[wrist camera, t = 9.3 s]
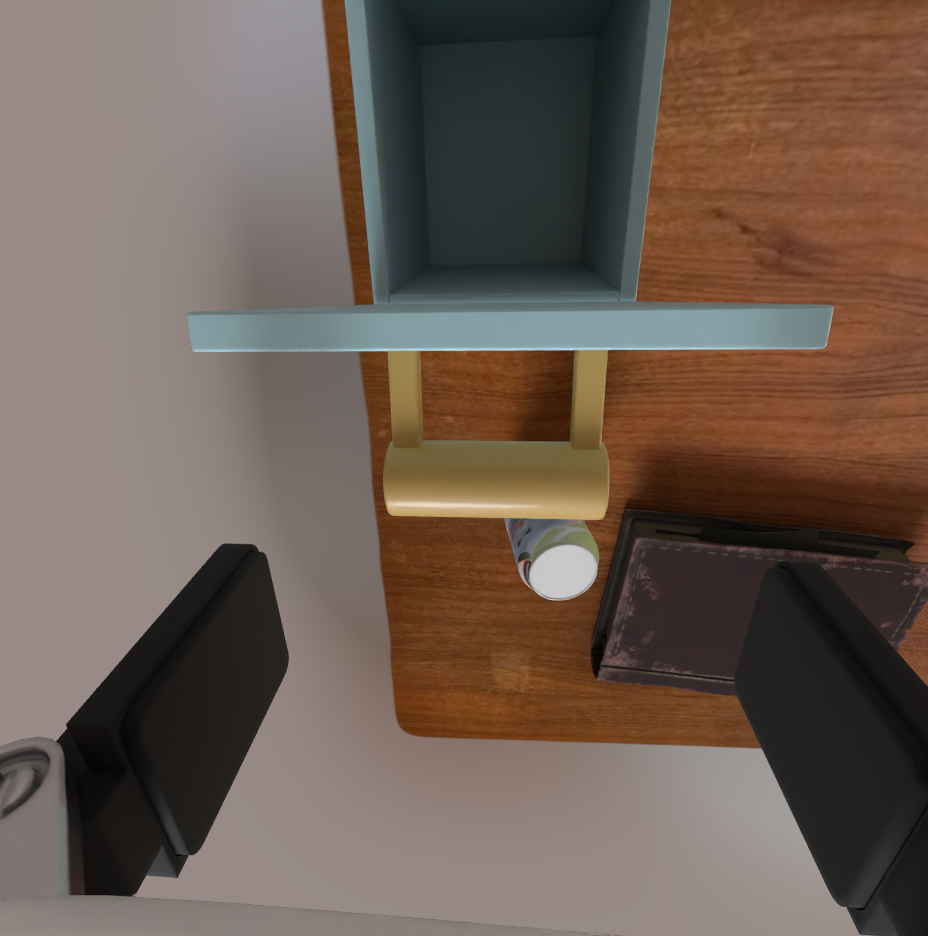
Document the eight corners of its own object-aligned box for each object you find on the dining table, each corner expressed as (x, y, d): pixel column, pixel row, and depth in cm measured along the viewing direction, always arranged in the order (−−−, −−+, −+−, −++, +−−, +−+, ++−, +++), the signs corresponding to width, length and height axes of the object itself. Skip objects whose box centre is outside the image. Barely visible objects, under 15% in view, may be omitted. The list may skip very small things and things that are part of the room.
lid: (184, 312, 11) (224, 547, 12) (836, 304, 10) (785, 562, 11) (371, 304, 25) (378, 412, 27) (638, 301, 24) (628, 413, 26)
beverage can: (494, 469, 47) (490, 547, 36) (577, 456, 45) (598, 532, 35) (507, 528, 49) (507, 616, 39) (585, 517, 48) (608, 605, 37)
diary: (828, 677, 54) (857, 719, 50) (588, 650, 55) (595, 689, 51) (910, 527, 46) (954, 562, 42) (626, 498, 47) (638, 529, 42)
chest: (408, 34, 33) (334, -95, 19) (608, 23, 32) (686, -122, 18) (422, 275, 40) (374, 311, 26) (589, 272, 39) (635, 308, 25)
